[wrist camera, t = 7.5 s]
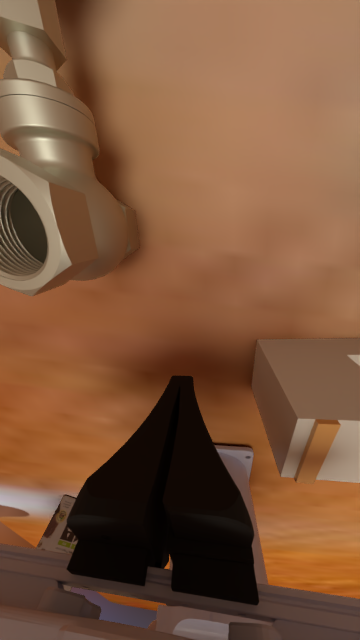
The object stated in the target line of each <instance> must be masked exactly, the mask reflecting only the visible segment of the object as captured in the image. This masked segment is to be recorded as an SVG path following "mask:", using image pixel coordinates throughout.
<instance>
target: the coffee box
mask: <svg viewBox="0 0 360 640" xmlns="http://www.w3.org/2000/svg"><path fill="white" fill-rule="evenodd" d="M75 500H76V499H75V498H72V497H70V496H67V495H66V496H63V498H62V500H61V502H60V504H59V506H58V508H57V510H56V511H55V513H54V515H53V517H52V519H51V521H50V523H49V525H48V527H47V528H46V530H45V532H44V534H43V536H42V538H41V540H40V542H39V544H38V545H37V547H36V549H39V550H46V551H52V552H59V553H65V554H73V551H74V549H75V546H76V544H77V541H78V538H77V537H76V536H75V535H74V534H73V532H72V531H71V530H70V529H69V528H68V526H67V518H68V515H69V513H70V511H71V509H72V507H73V505H74V502H75ZM63 587H64V590H66V591H71V588H72V587H71V586H65V585H63Z"/></svg>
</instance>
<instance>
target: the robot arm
mask: <svg viewBox="0 0 360 640" xmlns="http://www.w3.org/2000/svg"><path fill="white" fill-rule="evenodd" d="M253 455H254V453H253V449H252V448H249V447H236V446H221V445H214V444H213V442H212V439H211V437H210V435H209V433H208V431H207V428H206V426H205V423H204V421H203V418H202V415H201V413H200V410H199V407H198V403H197V400H196V396H195V392H194V385H193V377H192V376H172V377H171V379H170V381H169V384H168V385H167V387H166V389H165V391H164V393H163V394H162V396H161V398H160V399H159V401H158V403H157V404H156V406H155V407H154V408H153V410H152V411H151V413H150V414H149V416H148V417H147V418H146V420H145V421H144V422H143V423H142V425H141V426H140V427H139V428H138V430H137V431H136V432H135V433H134V434H133V435H132V436H131V438H130V439H129V440H128V441H127V442H126V443H125V444H124V445H123V446H122V447H121V448H120V449H119V450H118V451H117V452H116V453H115V454H114V455H113V456H112V457H111V458H110V459H109V460H108V461H107V462H106V463H105V464H103V465H102V466H101V467H100V468H99V469H98V470H97V471H95V472H94V473H93V474H92V475H91V476H90V477H89V478H87V480H86V482H85V483H84V485H83V487H82V489H81V490H80V492H79V494H78V496H77V498H76V500H75V502H74V505H73V507H72V509H71V511H70V513H69V515H68V518H67V526H68V528H69V529H70V530H71V531H72V532H73V534H74V535H75V536H76V537H77V538H78V541H77V544H76V546H75V549H74V551H73V554H65V553H59V552H52V551H46V550H39V549H32V548H26V547H19V546H13V545H7V544H0V640H360V599H356V598H350V597H343V596H337V595H330V594H324V593H317V592H311V591H304V590H298V589H291V588H285V587H278V586H272V585H268V580H267V575H266V570H265V565H264V559H263V554H262V549H261V544H260V538H259V533H258V528H257V523H256V518H255V512H254V507H253V502H252V497H251V491H250V486H249V478H250V473H251V467H252V461H253ZM169 554H170V557H171V558H170V569H164V567H165V566H166V565H167V563H168V562H169ZM63 585H65V586H71V587H76V588H82V589H88V590H93V591H98V592H104V593H110V594H115V595H121V596H126V597H132V598H138V599H143V600H149V601H154V602H160V603H165V604H166V605H167V606H164V605H159V606H158V611H157V620H155V621H152V623H151V624H150V625H149V627H148V629H145V628H141V627H135V626H131V625H126V624H121V623H115V622H109V621H104V620H99V617H100V613H101V608H100V607H99V606H97V605H95V604H93V603H91V602H90V601H88V600H87V599H86V598H85V596H84V595H80V594H77V593H73V592H70V591H66V590H64V587H63Z"/></svg>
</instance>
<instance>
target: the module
mask: <svg viewBox="0 0 360 640" xmlns="http://www.w3.org/2000/svg"><path fill="white" fill-rule="evenodd" d="M251 387H252V390H253V393H254V397H255V400H256V403H257V406H258V409H259V412H260V415H261V418H262V421H263V424H264V427H265V430H266V433H267V437H268V440H269V443H270V446H271V449H272V452H273V455H274V458H275V461H276V464H277V467H278V470H279V473H280V477H292V478H294V479H295V481H296V483H307V484H314V482H315V480H316V479H317V480H329V481H342V482H355V483H360V338H331V339H260V340H257V343H256V352H255V360H254V368H253V377H252V385H251Z"/></svg>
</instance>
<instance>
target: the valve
mask: <svg viewBox="0 0 360 640" xmlns="http://www.w3.org/2000/svg"><path fill="white" fill-rule="evenodd" d="M0 47H1V48H2V49H3V50H4V51H5V52H6V53H7V54H9V55H10V56H11V57H12V60H11V61H9V63H8V64H7V66H6V68H5V71H4V76H3V77H4V79H0V133H1V136H2V138H3V140H4V141H5V142H6V143H7V144H8V145H9V146H11V147H12V148H14V149H15V150H17V151H19V153H20V156H21V157H20V156H17V155H15V154H12V153H10V152H8V151H5V150H3V149H0V284H1V285H4V286H6V287H8V288H10V289H13V290H15V291H18V292H21V293H23V294H26V295H29V296H35V295H38V294H40V293H43V292H45V291H48V290H51V289H53V288H56V287H59V286H61V285H64V284H65V283H67V282H68V281H69V280H76V281H86V280H93V279H97V278H100V277H102V276H105V275H106V274H108V273H110V272H111V271H113V270H114V269H115V268H116V267H117V266H118V265H119V263H120V262H121V261H122V260H123V259H125V258H126V257H127V256H129V255H130V254H132V253H133V252H134V251H136V250H137V249H139V248H140V246H139V237H138V229H137V220H136V212H135V210H133V209H132V208H130V207H128V206H127V205H125V204H123V203H122V202H120V201H118V200H117V199H115V198H114V197H113V195H112V194H111V193H110V192H109V191H108V190H107V189H106V188H105V187H104V186H103V185H102V184H101V183H99V182H98V180H97V179H96V176H95V172H94V166H93V161H92V160H94V159H96V158H97V157H98V156H99V153H100V150H99V144H98V138H97V132H96V127H95V121H94V117H93V114H92V112H91V111H90V110H89V108H88V107H87V106H86V105H85V104H84V103H83V102H82V101H81V100H79V99H78V98H76V97H75V96H74V94H73V91H72V90H71V88H70V87H69V85H68V84H67V83H66V81H65V80H64V79H63V78H62V77H61V76H60V75H59V74H58V73H57V70H58V69H59V68H60V67H61V66H62V64H63V63H64V62H65V61H66V60H67V58H66V53H65V48H64V43H63V38H62V33H61V28H60V23H59V18H58V13H57V8H56V3H55V0H0Z"/></svg>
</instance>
